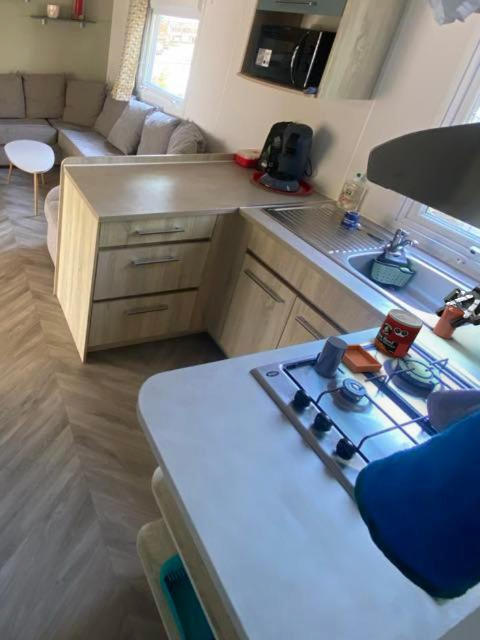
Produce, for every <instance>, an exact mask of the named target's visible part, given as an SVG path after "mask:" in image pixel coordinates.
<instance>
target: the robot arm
mask: <svg viewBox="0 0 480 640" xmlns="http://www.w3.org/2000/svg"><path fill="white" fill-rule="evenodd" d="M443 302H444V305H442V306H441V307H439V308H437V309H436V310H435V315H436V316H437V317H438V318H440V317H441V315H442V313H443V311H444V310H445V308H446V306H447V305H450V306H454V307H457V308H459V309H461V310H463V309H465V310H467V311H466V312H465V314H464V315H463V317H462V316H460V317H458V318H456V319H454V320H453V321H451V322H449V324H450V326H451V327H452V328H455V327H456V329H457V328H460V327H462V326H463V325H465V324H471V325H473V326H475V327H477V326H480V284H478V285H476V286H475V287H474V288H473V289H472V290H469V291H464V290H461V289H460V287H455V288H454V289H452V290H451V291H450V292H449V293H448V294H447V295H446V296H445V297H444V298H443Z"/></svg>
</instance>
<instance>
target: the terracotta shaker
mask: <svg viewBox="0 0 480 640" xmlns="http://www.w3.org/2000/svg"><path fill="white" fill-rule="evenodd" d="M465 313H466V312H465V311H464V310H463V309H459V308H457V307H454V305H453V306H450V305H447V306H446V308H445V310H444V311H443V313H442V315H441V317H438V320H437V321H436V323H435V326H433V329H432V332H433V333H434V334H435V335H436V336H439V337H440V338H443V339H447V340H450V339H451V338H452V337H453V336H454V333H455V332H456V330H457V328H456V327H455V328H452V327H451V326H450V324H449V322H451V321H453V320H454V319H456V318H458V317H460V316H462V317H463V315H464V314H465Z"/></svg>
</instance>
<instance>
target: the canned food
mask: <svg viewBox="0 0 480 640" xmlns="http://www.w3.org/2000/svg"><path fill="white" fill-rule="evenodd" d="M423 326H424V322H423V321H422V319H421V318H419V317H418V316H417V315H415V314H412V313H411V312H408V311H406V310H403V309H399V308H391V309H389V311H388V313H387V314H386V316H385V318H384V320H383V322H382V324H381V326H380V328H379V330H378V332H377V334H376V336H375V338H374V341H373V343H374V344H373V345H374V346H375V347H376V349H378V350H379V351H380V352H381V353H383V354H385V355H387V356H389V357H391V358H396V359H397V358H398V359H400V358H399V357H402V358H405V356H407V355H408V353H409V352H410V349H411V347H412V346H413V344H414V342H415V341H416V339H417V337H418V335H419V334H420V332H421V331H422V328H423Z"/></svg>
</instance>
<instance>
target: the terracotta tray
mask: <svg viewBox="0 0 480 640" xmlns="http://www.w3.org/2000/svg"><path fill="white" fill-rule="evenodd" d="M341 362H343V363H344V364H345V365H346V366H347V367H348V368H349V369H350V370H351V371H352V372H353V373H371V372H373V373H374V372H380V371H381V369H382V368H383V364H382V363H381V362H380V361H379V360H378V359H376V358H375V357H374V356H373V355H372V354H371V353H370V352H369V351H367V350H366V349H365V348H364V347H363V346H362V345H361V344H360V343H358V344H357V343H356V344H355V343H354V344H352V343H351V344H348V349H347V351H346V353H345V355H344V357H343V359H342V361H341Z"/></svg>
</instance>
